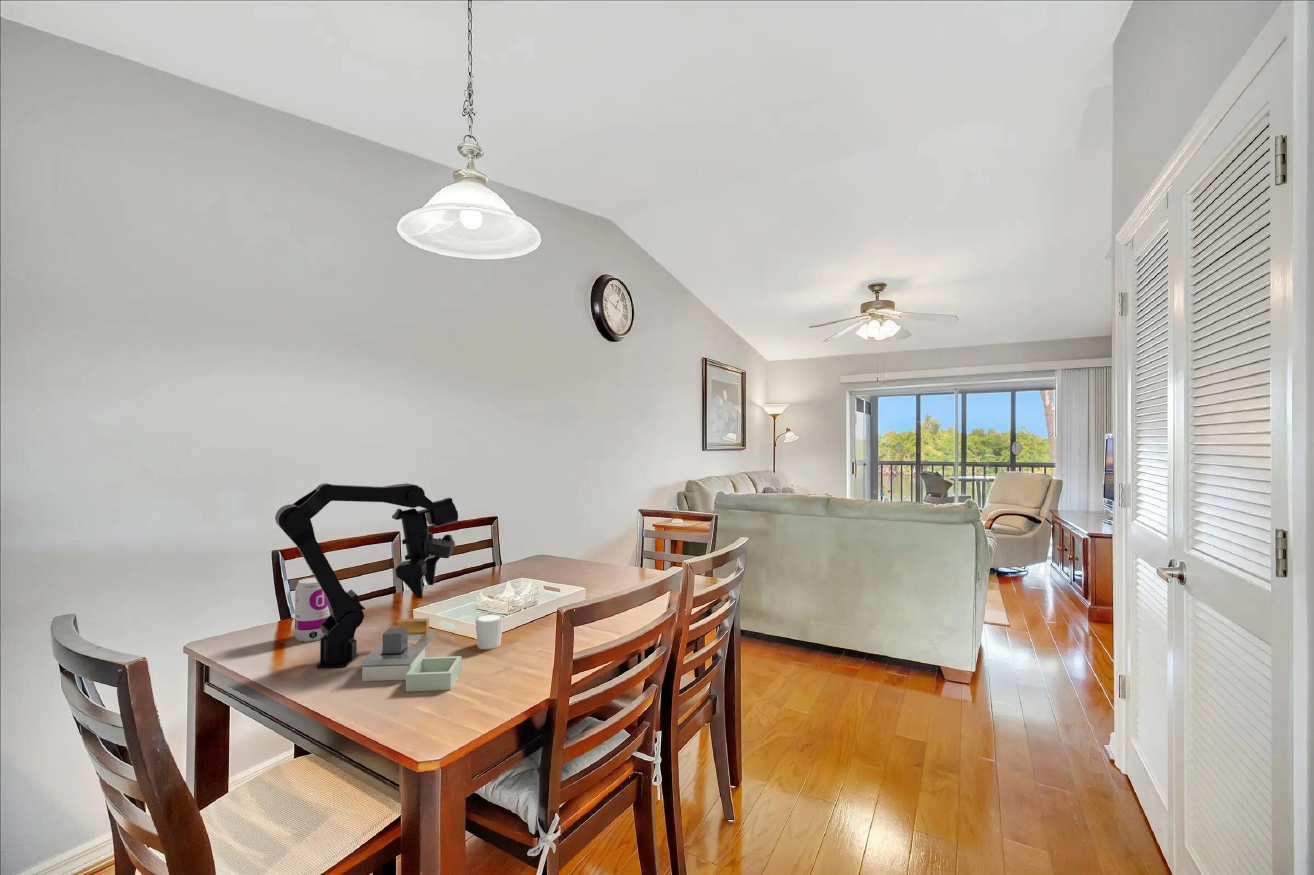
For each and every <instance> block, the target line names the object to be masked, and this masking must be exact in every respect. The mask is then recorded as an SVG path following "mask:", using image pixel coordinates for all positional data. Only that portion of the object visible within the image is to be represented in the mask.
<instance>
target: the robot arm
mask: <svg viewBox="0 0 1314 875" xmlns="http://www.w3.org/2000/svg"><path fill="white" fill-rule="evenodd" d="M330 502H361V503H365V502H368V503H386V504H391V505H397V506H400V507H405V508H409V509H404V510H403V509H401V508H397V509H396V511H395V512H394V513H393V514H392V516H391V518H392V519H393V520H396V521H398V520H401V525H402V531H403V536H404V538H403V539H401V542H402V545H405V548H406V554H405V555H404V559H405V560H404V561H402V562H401V563H400V564H398V566H397V567H396V568H395V570H394V572H395V577H396V578H397V579H399V580H401V581H402V582H403V583H404V584H405V585H406V586H407V587H408V588H409V589H410V590H411V592H412V593H413V594H414V596H415V597H416V598H417V599H423V597H424V596H423V593H424V590H423V584H424V583H423V577H424V578H425V581H426V582H427V584H428V585H429V586H434V584H435V576H436V569H437V563H438V561H439V560H440V559H441V558H443V559H449V558H451V555H453V552H454V547H455V546H456V543H455V541H456V540H454V539H453V535H451V534H448V533H447V534H445V535H443V537H442V538H441V537H439V538H435V537H434V534H433V533H432V532H429V528H428V525H429V526H430V525H432V527H433V528H439V527H442V526H446V525H450V524H453V523H458V521H459V513H458V509H457V508H456V505H455V504H454V502H453V498H451V497H446V498H443V499H441V500H440V499H439V500H435V501H432V500H430V498H429V497H427V496H426V493H425V490H424V489H423V488H422V486H420V485H418V484H417V485H416V484H413V483H412V484H411V483H409V482H408V483H399V484H398V483H397V484H391V485H386V486H385V485H384V486H373V485H371V486H367V485H346V484H331V483H328V482H327V483H326V482H325V483H321V484H319V485H318V486H316V488H315V489H313V490H312V491H310V492H309V493H307V494H305V495H303V496H302V497H300V498H299V499H297V500H296V501H295V502H294V503H291V504H286V505H283V506H282V507H280V508H279V509H278V510H277V512H276V514H275V516H274V520H275V522H276V525H277V526H278V527H279V528H280V529H281V531H283V532H284V534H285V535H287V536H286V537H288V538H289V539H290V541H292V542H293V543H294V545H296V547H297V549H298V551H299V552H300V554H301V556H302V557H303V560H304V561H305V562H306V565H307V566H308V568H309V570H310V571H311V573H312V575H313V577H315V578H316V580H317V582H318V584H319V585H320V587H321V589H322V591H323V592H324V594H325V596H326V600H327V605H328V608H329V612H330V616H329V617H328V618H327V619H326V620H325V621H324V622H323V623H322V624H321V625H320V627H321V629H322V632H323V633H324V634H325V635H324V636H323V637H322V638H320V640H319V641H320V646H319V647H320V648H319V649H320V650H319V658H320V659H319V663H318V664H316V668H317V669H319V668H344V667H347V666H348V665H350V663H351V662H353V661H355V659H356V658H357V657H358V652H357V650H358V649H357V646H358V645H357V642H358V641H357V639H355V634H356V631H357V628H359V627H360V626H361V625H362V623H363V622H364V619H365V613H364V610H365V609H366V607H364V605H362V604H361V602H360V598H359V596H358V594H357V593H356V592H355V591H353V589H350V590H348V591H347V592H346V590H344V587H343V585H342V584H341V582H340V580H339V579H338V577H337V574H335V571H334V570H333V568H332V566H331V564H330V563H329V561H328V559H327V558H326V556H325V554H324V552H323V550H322V548H321V547H320V545H319V543H318V542H317V538H316V536H315V530H314V526H313V523H312V520H311V519H312V518H314V517H315V516H316V515H318V513H320V512H321V511H322V510H324V508H325V507H326V506H327V505H328V504H329V503H330ZM418 507H419V508H423V509H420V510H417V509H416V508H418Z"/></svg>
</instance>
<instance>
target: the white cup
mask: <svg viewBox="0 0 1314 875" xmlns="http://www.w3.org/2000/svg"><path fill="white" fill-rule="evenodd" d="M503 624H504V616H503V615H501V614H498V613H488V614H482V615H479V616H476V617H475V629H476V631H475V632H476V643H477V648H478V649H481V650H493V649H495V648H496V649H497V648H498V647H501V644H502V633H503Z"/></svg>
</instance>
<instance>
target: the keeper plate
mask: <svg viewBox="0 0 1314 875" xmlns="http://www.w3.org/2000/svg"><path fill="white" fill-rule="evenodd" d="M396 628H408V641H413V640H418V641H417V642H416V643H412V644H410V645H409V647H407V650H406V651H405V652H404V653H403V654H402V655H382V649H383V641H381V643H379V644H378V645H376V647H375V648H374V649H373V650H372V651H371V652H369V654H367V655H366V656H365V657H364V658H363V659H362V661H361V662H362V665H361V666H362V667H363V666H372V665H400V664H411V663H412V662H413V661H414V660H415V658H416V657H417V656H418V655H419V654H420V652H421V651H422V650H423V649H424V648H425V649H426V646H427V645H428V644H429V643H430V642H431V641H432V639H434V637H435V636H436V630H435V629H433V630H432V629H431V630H430V618H429V617H426V618H403V619H402V618H399V619H398V620H397V621H396Z"/></svg>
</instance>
